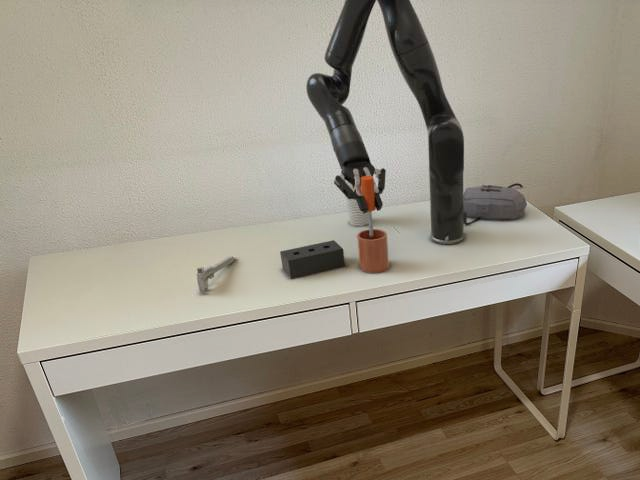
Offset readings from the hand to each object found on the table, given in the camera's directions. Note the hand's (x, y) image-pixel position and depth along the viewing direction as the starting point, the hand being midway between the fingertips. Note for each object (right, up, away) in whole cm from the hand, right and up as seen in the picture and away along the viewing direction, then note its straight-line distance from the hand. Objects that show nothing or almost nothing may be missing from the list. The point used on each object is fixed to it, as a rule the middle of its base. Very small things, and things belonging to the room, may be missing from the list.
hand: (372, 210), depth 166 cm
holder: (-17, -13, +9) cm, 23 cm away
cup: (-10, +4, +36) cm, 38 cm away
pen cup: (-1, -13, +10) cm, 16 cm away
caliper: (-40, -16, +5) cm, 43 cm away
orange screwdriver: (-1, -5, +5) cm, 8 cm away
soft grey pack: (+31, +9, +44) cm, 54 cm away
